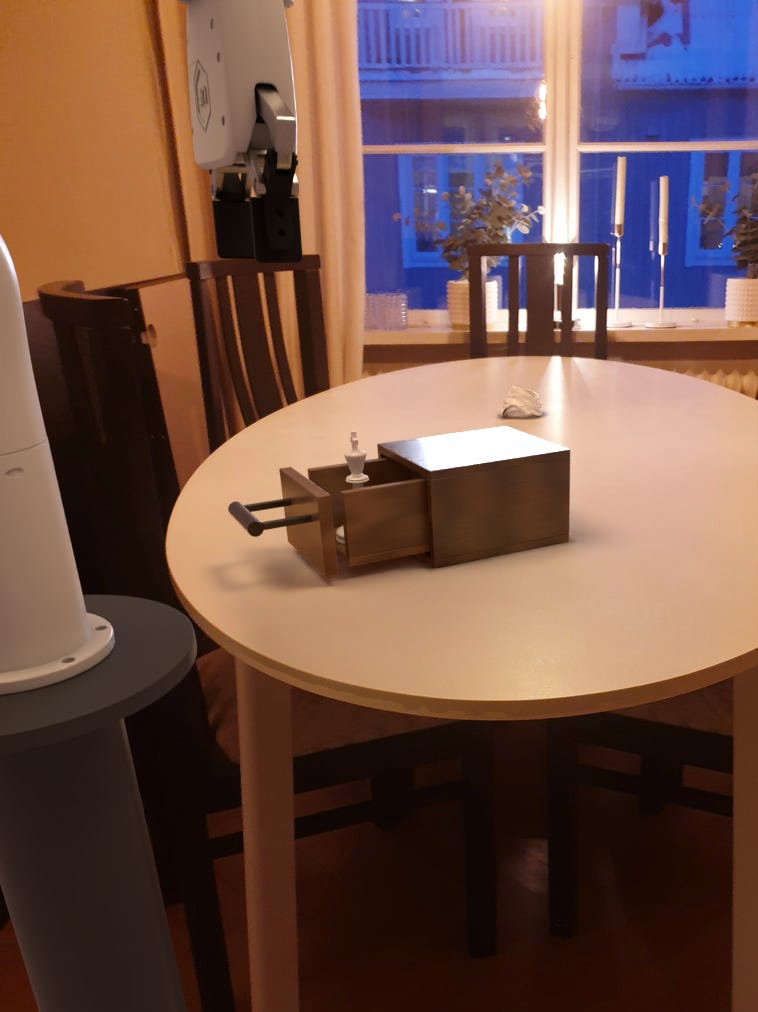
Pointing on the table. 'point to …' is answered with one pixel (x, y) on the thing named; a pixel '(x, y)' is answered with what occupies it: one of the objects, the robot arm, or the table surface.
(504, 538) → the cabinet
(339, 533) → the chess piece
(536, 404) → the beige lumpy piece
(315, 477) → the drawer
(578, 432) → the table surface
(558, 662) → the table surface
